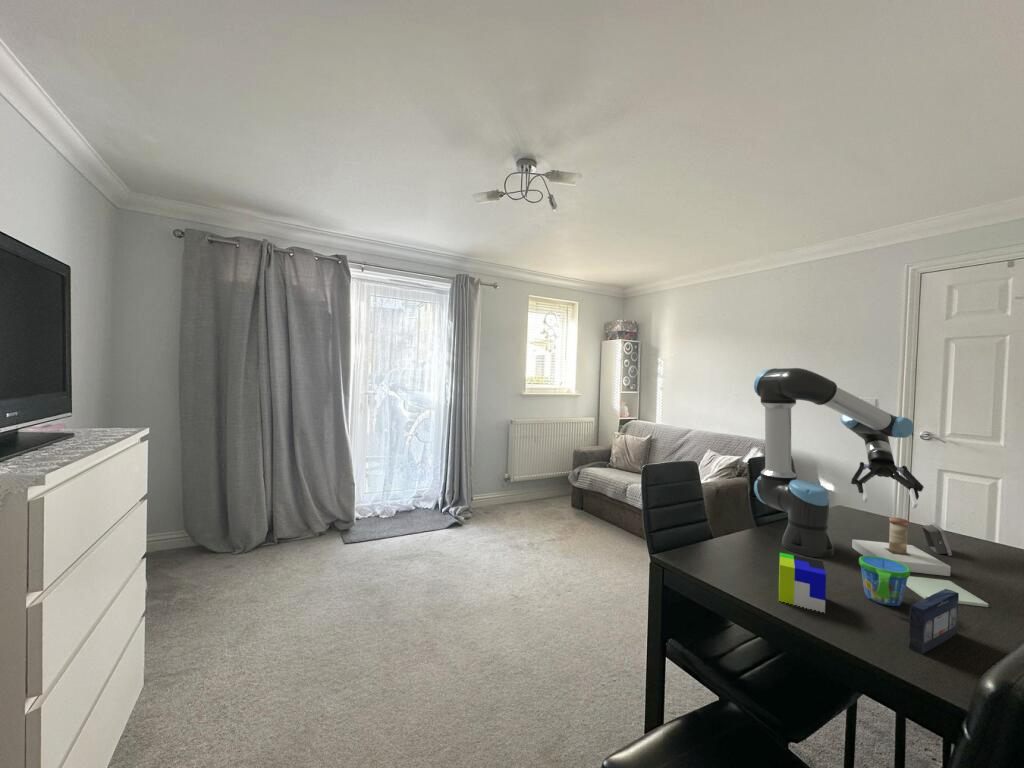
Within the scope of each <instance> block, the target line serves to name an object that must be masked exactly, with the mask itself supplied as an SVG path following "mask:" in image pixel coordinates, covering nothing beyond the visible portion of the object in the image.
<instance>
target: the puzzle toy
mask: <svg viewBox="0 0 1024 768" xmlns="http://www.w3.org/2000/svg"><path fill="white" fill-rule="evenodd" d="M778 563H779V565H778V566H779V569H778V573H779V574H778V602H779V601H781V602H780V603H782V602H785V603H784V604H786V603H789V604H788V605H790V604H793V605H792V606H794V605H797V606H796V607H798V606H800V607H799V608H802V607H804V608H803V609H806V608H807V610H810V609H812V610H811V611H814V610H816V611H815V612H818V611H820V612H819V613H822V612H824V613H823V614H826V591H827V589H826V588H827V573H826V570H825V565H824V562H823V560H819V559H814V558H809V557H808V558H807V557H804V556H799V555H794V554H790V553H789V554H788V553H785V552H784V553H783V552H779V562H778Z"/></svg>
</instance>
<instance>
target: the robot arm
mask: <svg viewBox="0 0 1024 768" xmlns="http://www.w3.org/2000/svg"><path fill="white" fill-rule="evenodd" d="M753 389H754V392H755V394H756V395H757V396H758V397H759V398H760V404H761V405H762V406H763V407H764V411H765V412H764V418H765V419H764V423H765V424H764V427H765V428H764V434H765V435H764V436H765V437H764V441H765V443H764V445H765V446H764V451H765V453H764V455H765V459H764V461H765V462H764V463H765V464H764V465H765V467H764V469H762V470H761V471H760V475H759V476H758V477H757V479H756V480H755V481H754V485H753V491H754V494H755V496H756V498H757V499H758V500H759V501H760V502H761V503H763V504H764V505H766V506H768V507H770V508H772V509H776V510H778V511H782V512H785V513H787V514H788V515H787V516H788V517H787V519H788V522H787V526H786V529H785V531H784V533H783V535H782V538H781V545H782V547H783V548H785V549H786V550H788V551H790V552H793V553H796V554H798V555H803V556H807V557H813V558H821V559H822V558H824V559H825V558H831V557H834V551H835V550H834V545H833V541H832V539H831V537H830V534H829V517H830V515H829V514H830V494H829V490H828V489H827V488H826V487H825V486H823V485H821V484H819V483H816V482H813V481H808V480H804V479H797V475H796V473H795V472H793V470H792V408H793V407H794V406H795V405H797V401H807V402H810V403H813V404H814V405H817V406H825V407H827V408H829V409H832V410H833V411H836V412H838V413H840V414H841V415H840V418H839V419H840V422H841V423H842V425H844V426H845V428H847V429H849V430H850V431H851V432H853V433H855V434H856V435H857V436H859V437H860V438H861V439H862V440H863V441H864V444H865V449H866V454H867V460H868V464H867V463H865V462H863V461H860V462H859V466H858V469H857V471H856V472H855V473H854V475H853V477H852V478H851V482H850V483H851V485H856V487H857V490H858V493H859V494H861V495H862V499H863V500H862V501H863V503H867V502H868V492H867V487H866V482H868V481H869V480H871V479H872V478H874V477H875V476H878V477H880V478H881V477H882V478H883V477H884V478H891V479H893V480H895V481H897V483H900V484H901V485H902V486H903V487H905V488H906V489H908V490H909V491H908V494H909V498H910V503H911V506H912V509H917V508H918V502H917V501H918V500H919V497H920V495H919V492H920V493H921V492H923V490H924V488H925V487H924V484H922V483H921V482H920V481H919V480H918V479H917V478H916V477H915V476H914V475H913V474H912V473H911V472H910V471H909V469H908V466H906V465H902V466H896V464H895V460H894V455H893V451H892V448H891V444H890V439H889V438H890V437H891V438H900V439H901V438H902V439H904V438H905V439H906V438H908V437H910V436H911V435H912V434H913V432H914V429H915V428H914V423H913V421H912V420H911V419H910V418H908V417H905V416H904V417H903V416H895V415H893V414H891V413H889V412H887V411H885V410H883V409H882V408H881V409H880V407H876V405H873V404H871V403H870V402H867V401H865V400H864V399H862V398H860V397H858V396H855V395H854V394H852V393H850V392H848V391H846V390H844V389H842V388H840V387H838V385H837V383H836V382H835V381H832V380H831V379H829V378H828V377H825V376H823V375H822V374H821V375H820V374H818V373H816V372H814V371H811V370H809V369H805V368H801V367H793V368H791V367H789V368H768V369H765V370H763V371H761V372H760V373H759V374H758V375H757V376H756V378H755V380H754V382H753ZM866 469H868V470H869V472H868V473H866V474H865V475H864V476H863V477H861V478H860V476H861V475H862V473H863V471H864V470H866ZM901 474H902V475H901ZM859 478H860V479H859Z"/></svg>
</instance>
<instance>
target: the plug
mask: <svg viewBox="0 0 1024 768" xmlns="http://www.w3.org/2000/svg"><path fill="white" fill-rule="evenodd" d="M888 522H889V538H888V539H889V540H888V543H889V552H891V553H893V554H898V555H907V545H908V526H909V519H908V520H907V519H905V518H901V517H894V516H892V517H891V516H890V517H888Z"/></svg>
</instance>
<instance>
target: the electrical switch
mask: <svg viewBox="0 0 1024 768" xmlns="http://www.w3.org/2000/svg"><path fill="white" fill-rule="evenodd" d="M921 528H922V531H923V534H924V537H925V540H926V542H927V545H928V547H929V548H930V549H931V550H933V552H934V553H936V554H937V555H938V554H939V555H941V554H946V555H947V556H948V557H950V556H953V552H952V549H951V547H950V544H949V542H948V539H947V535H946V533H945V530H944V529H943V527H941V526H939V525H938V524H936V523H934V522H930V524H928V525H921Z"/></svg>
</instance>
